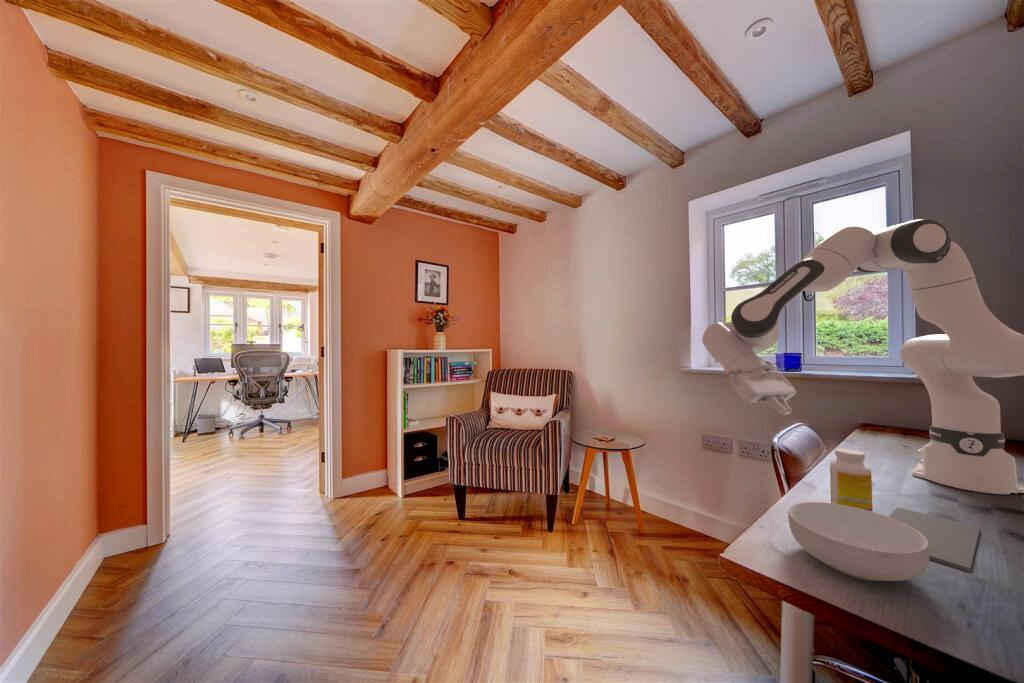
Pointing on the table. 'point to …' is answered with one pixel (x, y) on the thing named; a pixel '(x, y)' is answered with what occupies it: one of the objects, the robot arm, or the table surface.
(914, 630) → the table surface
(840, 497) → the supplement bottle
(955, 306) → the robot arm
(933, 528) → the mat
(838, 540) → the cereal bowl
